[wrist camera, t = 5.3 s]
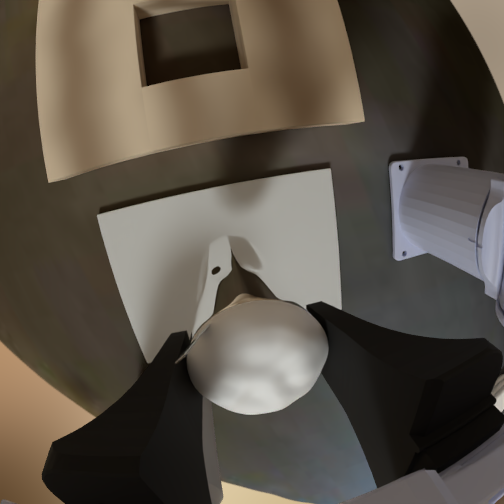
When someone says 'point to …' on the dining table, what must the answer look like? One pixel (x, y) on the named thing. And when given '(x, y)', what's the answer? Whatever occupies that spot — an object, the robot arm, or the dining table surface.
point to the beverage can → (211, 453)
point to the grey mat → (211, 229)
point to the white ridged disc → (499, 393)
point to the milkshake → (250, 333)
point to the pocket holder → (184, 80)
